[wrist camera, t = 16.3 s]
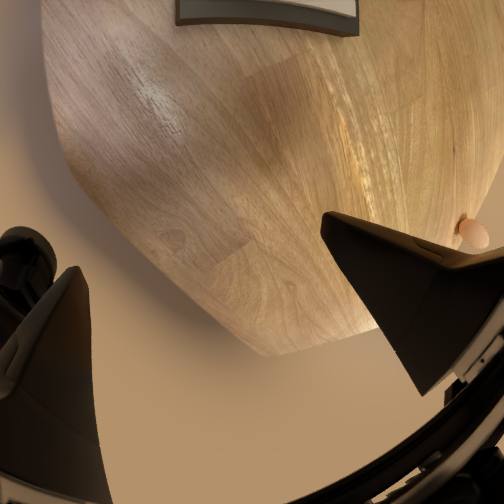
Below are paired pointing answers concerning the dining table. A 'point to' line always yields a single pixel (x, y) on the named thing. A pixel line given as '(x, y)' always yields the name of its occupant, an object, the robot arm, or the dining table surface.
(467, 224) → the egg
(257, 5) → the scale
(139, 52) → the dining table surface
